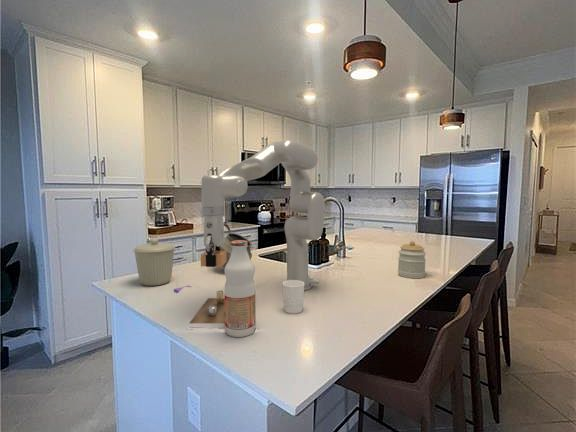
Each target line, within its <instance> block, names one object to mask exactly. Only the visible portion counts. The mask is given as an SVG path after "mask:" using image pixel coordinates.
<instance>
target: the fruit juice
mask: <svg viewBox="0 0 576 432" xmlns="http://www.w3.org/2000/svg"><path fill="white" fill-rule="evenodd" d="M247 245H248V243H247V241H245V240H235V241H232V242H231V247H232V252H231V255H230V258H229V261H228V263H227V264H226V266H225V267H224V276H225V284H224V290H223V298H224V299H225V323H224V332H225V333H226V335H227V336H230V337H233V338H243V337H248V336H250V335H252V334H253V333H254V332H255V331H256V327H257V324H256V323H257V319H256V315H257V313H256V284H255V281H254V277H255V272H256V270H255V265H254V263H253V262H252V259H251V260H250V258H249V255H248V252H247Z"/></svg>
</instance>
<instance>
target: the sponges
mask: <svg viewBox="0 0 576 432" xmlns="http://www.w3.org/2000/svg"><path fill="white" fill-rule="evenodd" d="M184 288H192V285H191V286H190V285H188V284H187V285H184V286H181V287H177V288H173V292H174V293H176V294H178V293H180V292H181V291H183V289H184Z"/></svg>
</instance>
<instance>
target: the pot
mask: <svg viewBox="0 0 576 432" xmlns="http://www.w3.org/2000/svg"><path fill="white" fill-rule="evenodd" d="M224 227H225V228H226V229H227V231H228V232H227V233H226V236H224V237H225V242H224V243H223V244H222V245H221V251H226V263H225V264H224V265H223V266H222V267H223V268H225V266H226V264H227V263H228V261H229V258H230V255H231V252H232V247H231V242H232V241H235V240H245V241H247V243H248V245H247V252H248V255H249V258H250V260H251V261H252V257H253V254H252V252H251V251H252V250H251V247H252V246H253V243H252V242H251V241H250V240H249V239H248V238H246V237H244V235H243V236H242V235H241V234H238V233H236V232H235V233H234V232H232V231H231V227H230V226H229V224H228V223H226V222H224Z"/></svg>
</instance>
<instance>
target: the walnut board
mask: <svg viewBox="0 0 576 432" xmlns="http://www.w3.org/2000/svg"><path fill="white" fill-rule="evenodd" d="M209 306H216V310H217V316H215V317H209ZM189 324H225V299H224V297H223V304H222V305H217V297H216V298H215V297H211V298H210V297H208V298H207V299H206V300H205V302H204V303H203V304H202V305H201V307H200V308H199V309H198V311H197V312H196V313H195V315H194V316H193V317H192V319H191V320H190V321H189ZM192 328H195V329H198V328H199V329H203V327H194V326H193V327H189V329H192Z"/></svg>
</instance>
